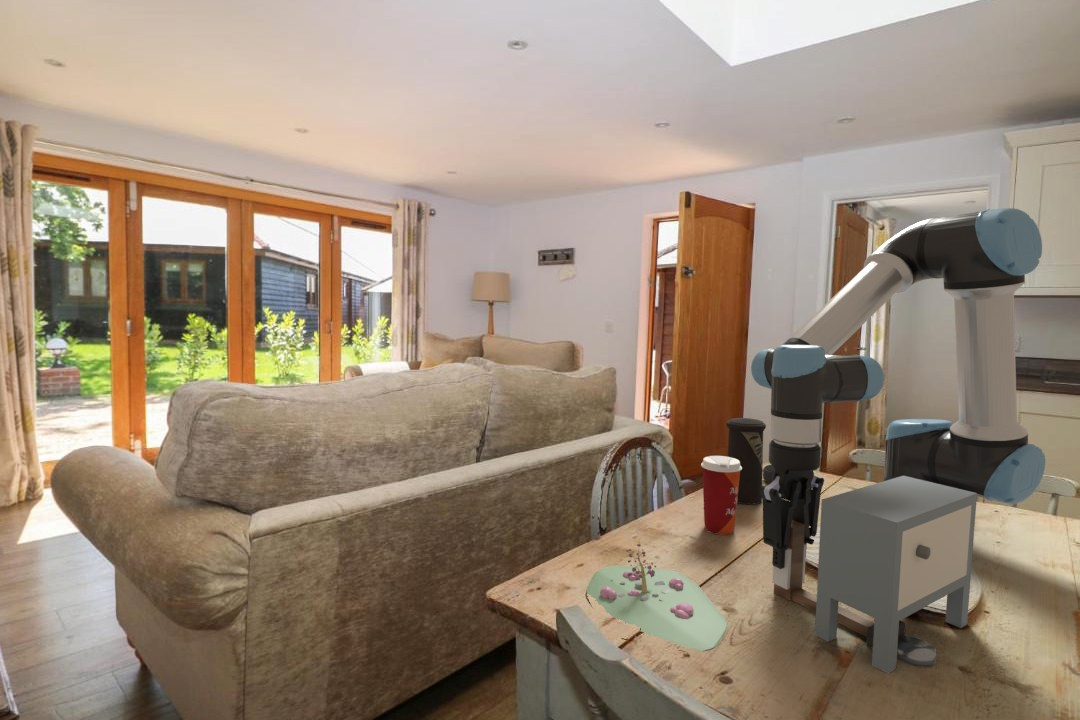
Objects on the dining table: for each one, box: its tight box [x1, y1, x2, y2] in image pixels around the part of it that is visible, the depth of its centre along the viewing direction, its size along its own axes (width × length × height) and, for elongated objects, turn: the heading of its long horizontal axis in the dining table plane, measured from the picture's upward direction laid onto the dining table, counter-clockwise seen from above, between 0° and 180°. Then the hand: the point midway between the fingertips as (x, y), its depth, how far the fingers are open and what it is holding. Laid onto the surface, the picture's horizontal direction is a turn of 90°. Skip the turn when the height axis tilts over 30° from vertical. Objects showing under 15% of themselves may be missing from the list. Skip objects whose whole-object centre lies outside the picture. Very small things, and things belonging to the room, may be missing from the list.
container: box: [725, 417, 767, 505], centre depth 137 cm, size 9×9×20 cm
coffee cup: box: [700, 455, 742, 536], centre depth 119 cm, size 8×8×15 cm
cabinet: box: [814, 476, 978, 674], centre depth 81 cm, size 22×11×20 cm, turn 121°
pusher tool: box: [773, 520, 907, 649], centre depth 85 cm, size 18×6×12 cm, turn 31°
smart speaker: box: [762, 464, 774, 485], centre depth 152 cm, size 9×9×4 cm
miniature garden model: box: [586, 543, 728, 652], centre depth 89 cm, size 25×21×9 cm
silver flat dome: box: [897, 634, 937, 668], centre depth 76 cm, size 5×5×2 cm
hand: (788, 582), depth 92 cm, fingers closed on pusher tool, 3 cm apart
